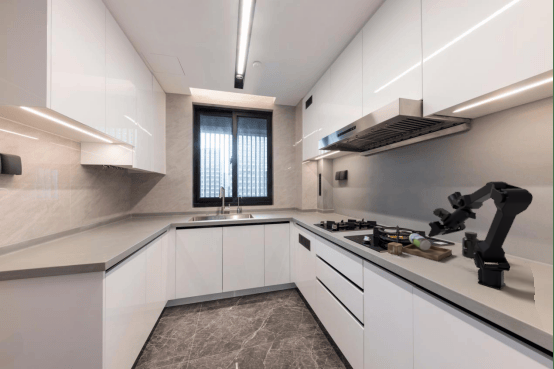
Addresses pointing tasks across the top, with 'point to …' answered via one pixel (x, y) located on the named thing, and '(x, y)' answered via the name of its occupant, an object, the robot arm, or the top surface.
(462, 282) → the top surface
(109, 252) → the top surface
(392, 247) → the letter block
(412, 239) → the beverage can
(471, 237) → the supplement bottle
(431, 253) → the tray
